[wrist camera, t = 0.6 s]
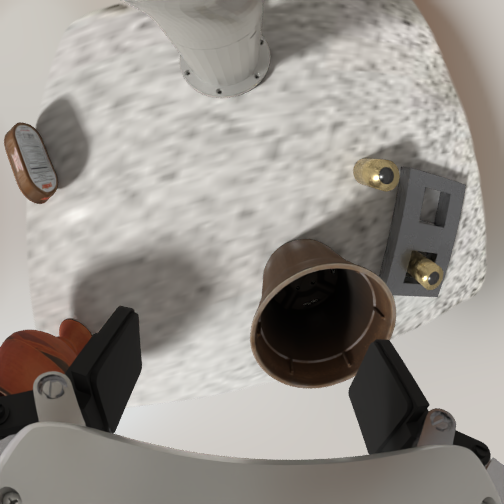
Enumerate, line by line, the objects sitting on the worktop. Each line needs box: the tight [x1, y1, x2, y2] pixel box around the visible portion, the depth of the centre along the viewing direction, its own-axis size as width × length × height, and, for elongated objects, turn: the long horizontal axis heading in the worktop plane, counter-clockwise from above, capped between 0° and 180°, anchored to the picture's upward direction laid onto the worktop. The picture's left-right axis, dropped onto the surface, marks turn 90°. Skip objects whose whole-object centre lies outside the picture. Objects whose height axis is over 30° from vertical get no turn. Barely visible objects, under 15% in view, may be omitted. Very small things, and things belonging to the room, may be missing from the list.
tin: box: [4, 123, 58, 204], centre depth 33 cm, size 15×3×8 cm, turn 26°
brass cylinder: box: [353, 158, 400, 191], centre depth 35 cm, size 4×4×7 cm
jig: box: [379, 167, 466, 297], centre depth 38 cm, size 20×12×7 cm, turn 174°
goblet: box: [0, 319, 92, 397], centre depth 37 cm, size 19×19×25 cm
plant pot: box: [250, 239, 396, 388], centre depth 36 cm, size 16×16×16 cm
